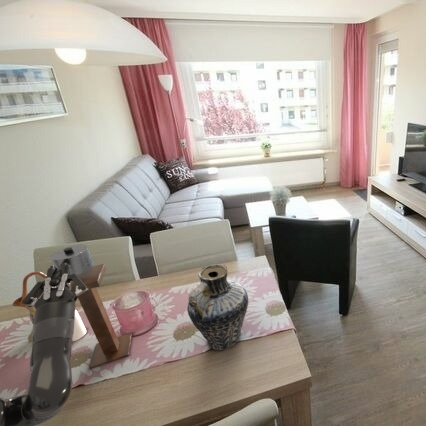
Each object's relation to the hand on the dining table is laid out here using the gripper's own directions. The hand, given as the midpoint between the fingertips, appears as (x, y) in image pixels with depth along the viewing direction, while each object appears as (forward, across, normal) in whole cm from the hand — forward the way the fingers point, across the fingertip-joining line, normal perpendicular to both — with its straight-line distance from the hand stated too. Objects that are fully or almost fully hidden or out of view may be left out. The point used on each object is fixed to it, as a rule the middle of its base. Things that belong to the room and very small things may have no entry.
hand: (60, 265), depth 80 cm
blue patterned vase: (-25, +37, -33) cm, 56 cm away
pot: (-1, 0, -7) cm, 7 cm away
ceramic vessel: (+10, -23, -54) cm, 59 cm away
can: (0, -14, -48) cm, 50 cm away
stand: (-13, 0, -40) cm, 42 cm away
